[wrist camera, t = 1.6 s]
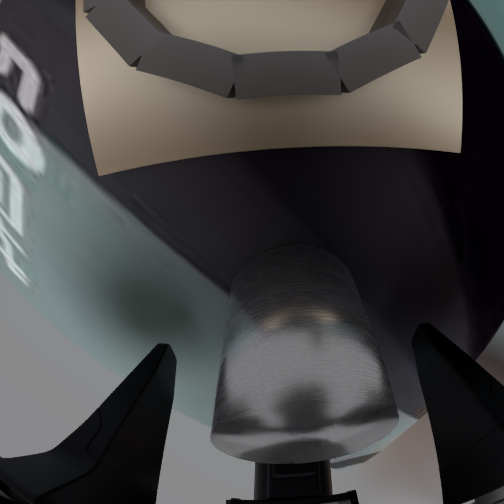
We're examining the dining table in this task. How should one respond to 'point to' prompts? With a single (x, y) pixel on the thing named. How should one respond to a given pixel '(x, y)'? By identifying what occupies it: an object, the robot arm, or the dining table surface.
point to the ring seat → (265, 76)
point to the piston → (299, 363)
